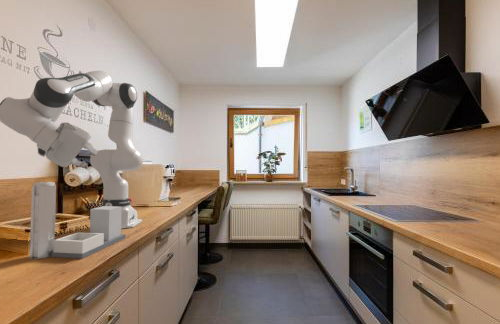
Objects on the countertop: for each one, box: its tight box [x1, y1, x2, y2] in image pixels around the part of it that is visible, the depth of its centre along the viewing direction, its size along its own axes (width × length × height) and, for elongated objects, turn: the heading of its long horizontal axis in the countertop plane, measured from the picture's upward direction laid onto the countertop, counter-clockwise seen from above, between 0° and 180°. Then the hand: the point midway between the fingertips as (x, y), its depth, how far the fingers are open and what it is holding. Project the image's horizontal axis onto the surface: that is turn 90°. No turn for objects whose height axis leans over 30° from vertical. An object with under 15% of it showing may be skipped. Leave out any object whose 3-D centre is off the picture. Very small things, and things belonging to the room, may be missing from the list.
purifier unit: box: [51, 205, 127, 260], centre depth 97 cm, size 24×11×14 cm, turn 174°
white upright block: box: [29, 181, 57, 260], centre depth 86 cm, size 6×6×25 cm
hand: (91, 160), depth 93 cm, fingers open, 8 cm apart
